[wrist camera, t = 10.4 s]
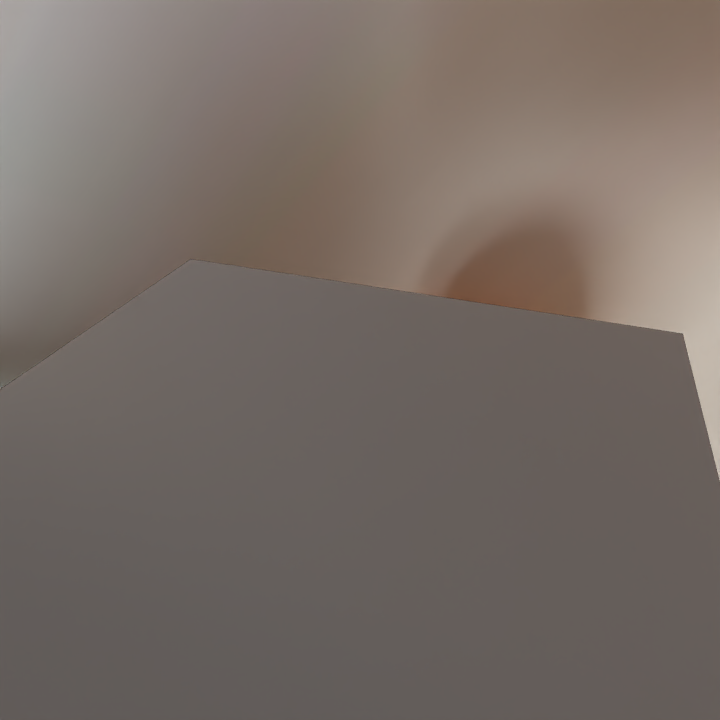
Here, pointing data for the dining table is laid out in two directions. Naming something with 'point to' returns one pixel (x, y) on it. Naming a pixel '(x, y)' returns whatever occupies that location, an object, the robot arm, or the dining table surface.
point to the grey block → (356, 512)
